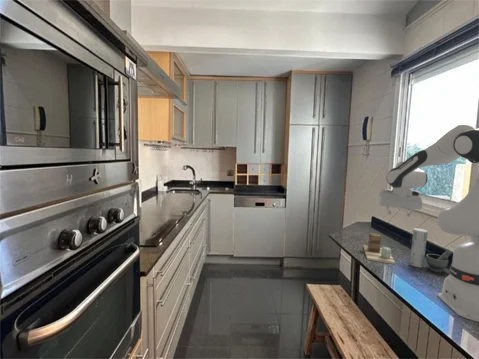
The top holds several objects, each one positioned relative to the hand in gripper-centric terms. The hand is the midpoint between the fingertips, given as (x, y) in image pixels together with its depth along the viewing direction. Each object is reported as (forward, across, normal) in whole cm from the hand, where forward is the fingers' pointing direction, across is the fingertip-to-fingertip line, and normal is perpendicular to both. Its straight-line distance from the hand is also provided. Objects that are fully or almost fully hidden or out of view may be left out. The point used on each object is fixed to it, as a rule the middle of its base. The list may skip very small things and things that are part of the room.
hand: (398, 215), depth 146 cm
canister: (+26, -4, 0) cm, 26 cm away
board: (+27, -7, +6) cm, 29 cm away
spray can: (+27, +11, -1) cm, 29 cm away
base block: (+26, -9, +10) cm, 29 cm away
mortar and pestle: (+27, +20, -3) cm, 34 cm away
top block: (+21, -9, +10) cm, 25 cm away
